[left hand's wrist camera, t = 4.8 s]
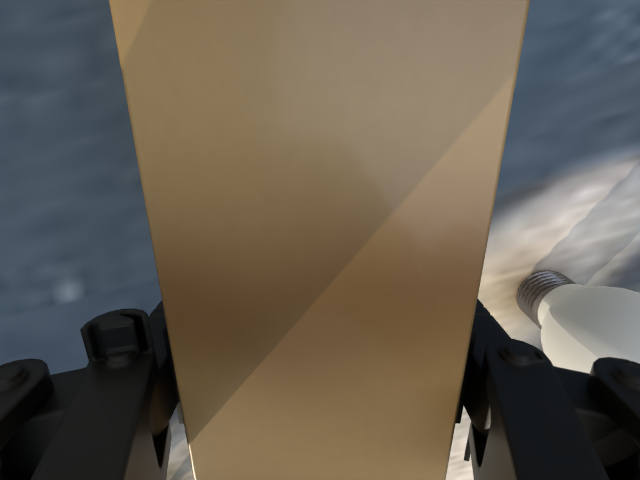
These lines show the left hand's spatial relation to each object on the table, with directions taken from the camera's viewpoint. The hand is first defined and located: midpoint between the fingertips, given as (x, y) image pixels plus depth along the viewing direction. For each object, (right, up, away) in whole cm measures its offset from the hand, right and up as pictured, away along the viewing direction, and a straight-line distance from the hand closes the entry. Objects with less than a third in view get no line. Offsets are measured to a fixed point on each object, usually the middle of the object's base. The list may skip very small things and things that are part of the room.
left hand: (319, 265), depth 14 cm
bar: (0, +8, -2) cm, 9 cm away
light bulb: (+16, -3, +11) cm, 20 cm away
